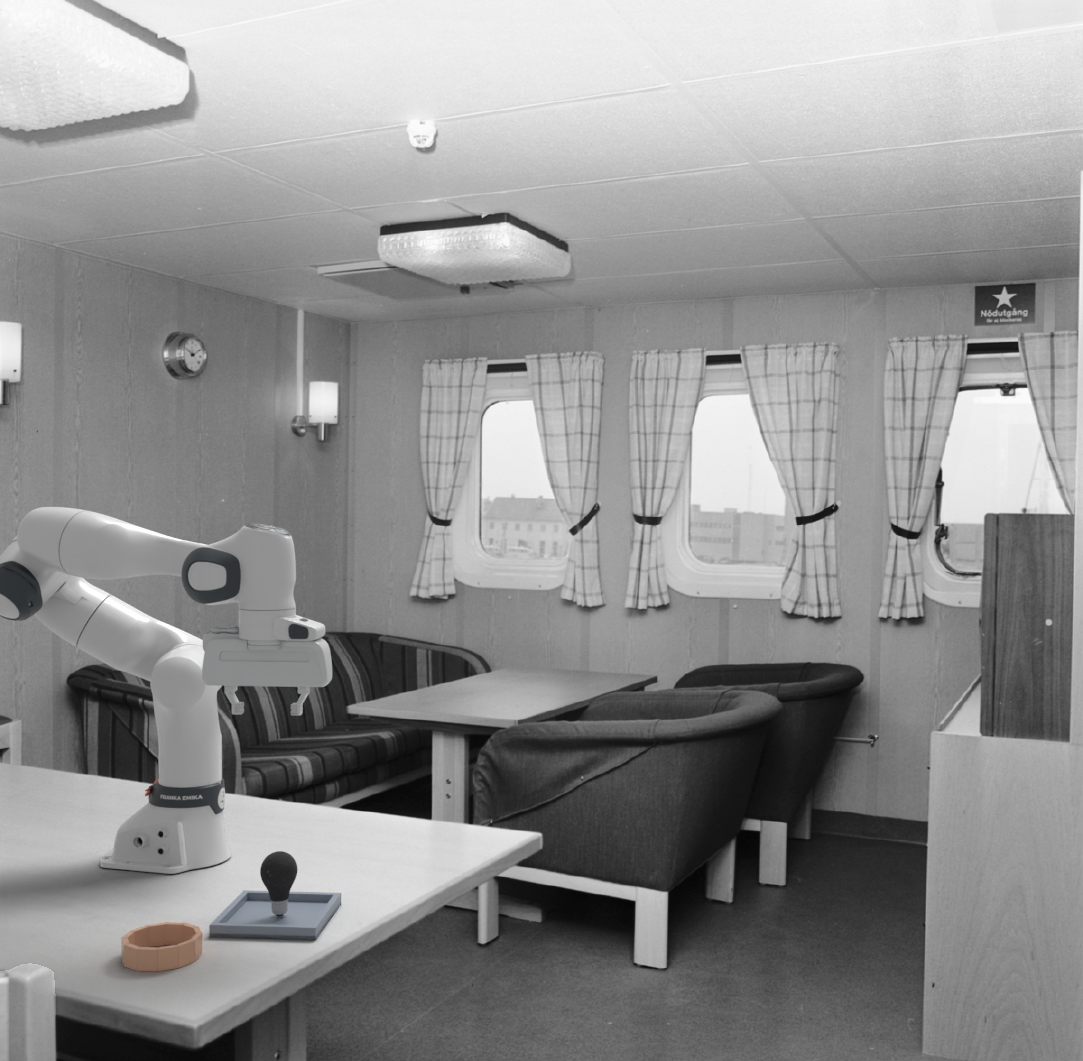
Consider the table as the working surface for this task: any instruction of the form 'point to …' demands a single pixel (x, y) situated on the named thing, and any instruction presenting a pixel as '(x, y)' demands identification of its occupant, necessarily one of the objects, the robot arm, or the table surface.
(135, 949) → the ring
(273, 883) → the light bulb
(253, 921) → the tray
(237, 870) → the table surface
